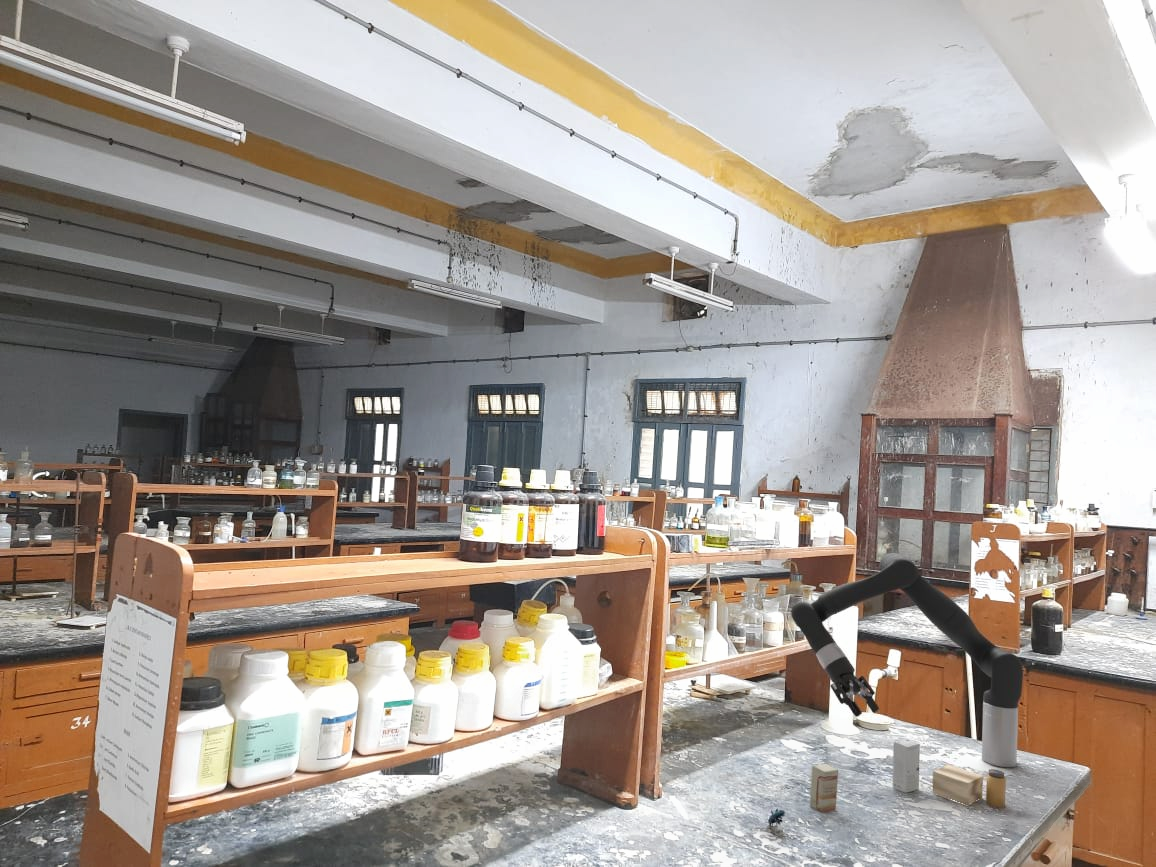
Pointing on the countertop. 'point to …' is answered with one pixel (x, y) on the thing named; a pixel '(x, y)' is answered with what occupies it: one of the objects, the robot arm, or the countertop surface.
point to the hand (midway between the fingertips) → (868, 713)
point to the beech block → (957, 784)
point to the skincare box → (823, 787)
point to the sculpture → (775, 819)
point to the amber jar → (996, 788)
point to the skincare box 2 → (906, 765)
